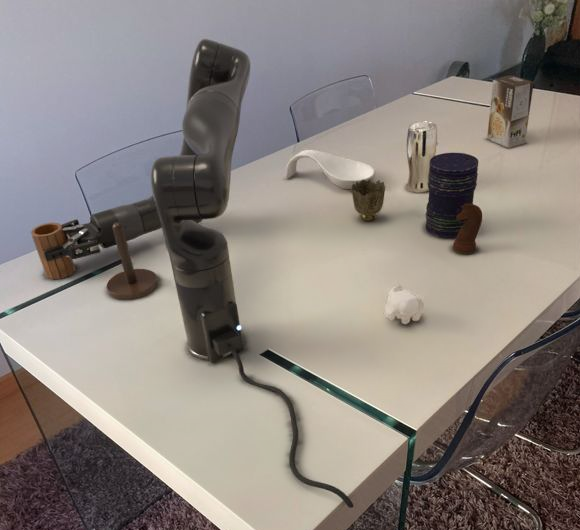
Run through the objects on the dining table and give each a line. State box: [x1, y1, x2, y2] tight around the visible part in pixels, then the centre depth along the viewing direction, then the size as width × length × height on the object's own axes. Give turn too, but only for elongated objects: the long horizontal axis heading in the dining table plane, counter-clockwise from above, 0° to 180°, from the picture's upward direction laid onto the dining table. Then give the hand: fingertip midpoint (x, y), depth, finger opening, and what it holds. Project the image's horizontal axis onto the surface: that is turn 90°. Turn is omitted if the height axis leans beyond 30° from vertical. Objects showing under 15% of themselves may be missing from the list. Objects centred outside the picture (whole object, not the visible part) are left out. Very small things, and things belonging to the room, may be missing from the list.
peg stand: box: [106, 223, 159, 301], centre depth 124 cm, size 10×10×14 cm
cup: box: [351, 179, 386, 222], centre depth 142 cm, size 8×7×8 cm
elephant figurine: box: [383, 284, 427, 325], centre depth 111 cm, size 7×8×6 cm
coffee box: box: [486, 74, 535, 149], centre depth 171 cm, size 9×6×16 cm
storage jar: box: [425, 152, 479, 240], centre depth 134 cm, size 10×10×15 cm
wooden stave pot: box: [30, 222, 76, 280], centre depth 133 cm, size 6×6×10 cm
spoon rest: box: [284, 149, 376, 190], centre depth 161 cm, size 24×12×7 cm, turn 62°
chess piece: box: [452, 203, 483, 256], centre depth 128 cm, size 5×5×10 cm
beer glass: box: [406, 120, 438, 194], centre depth 152 cm, size 7×7×15 cm
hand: (40, 250), depth 131 cm, fingers closed on wooden stave pot, 6 cm apart
